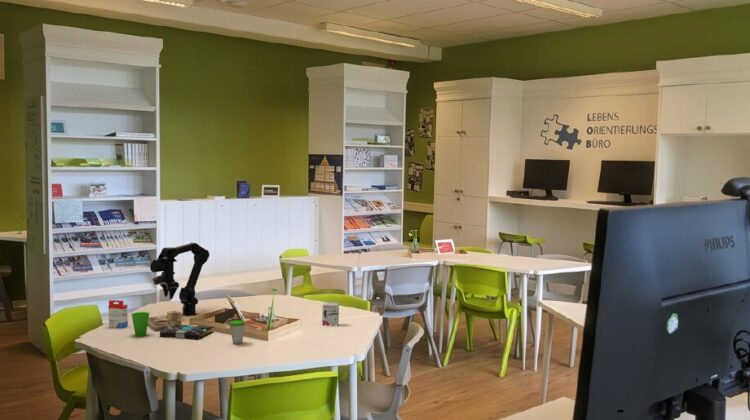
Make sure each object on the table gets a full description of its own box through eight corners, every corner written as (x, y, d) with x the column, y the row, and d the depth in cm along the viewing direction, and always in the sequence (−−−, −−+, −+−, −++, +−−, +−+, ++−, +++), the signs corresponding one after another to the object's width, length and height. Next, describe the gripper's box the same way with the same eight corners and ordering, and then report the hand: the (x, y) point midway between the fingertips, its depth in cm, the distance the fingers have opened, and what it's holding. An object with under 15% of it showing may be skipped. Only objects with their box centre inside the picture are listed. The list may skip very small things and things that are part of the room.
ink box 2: (322, 325, 360) (322, 304, 359) (323, 323, 365) (323, 302, 364) (337, 326, 359) (337, 304, 358) (338, 324, 364) (339, 302, 363)
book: (159, 338, 331) (159, 328, 331) (176, 330, 347) (176, 320, 347) (198, 341, 326) (198, 331, 326) (214, 333, 343) (214, 323, 342)
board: (156, 320, 367) (156, 316, 367) (170, 329, 347) (170, 325, 347) (141, 322, 363) (141, 318, 363) (155, 331, 342) (155, 327, 342)
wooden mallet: (178, 325, 357) (178, 310, 356) (181, 327, 353) (181, 312, 352) (152, 328, 349) (152, 313, 348) (155, 330, 345) (155, 315, 344)
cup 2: (227, 341, 323) (227, 311, 322) (243, 340, 326) (243, 310, 326) (231, 345, 316) (231, 314, 315) (247, 344, 319) (247, 313, 318)
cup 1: (154, 334, 336) (153, 312, 336) (140, 338, 328) (140, 316, 327) (140, 332, 340) (140, 311, 339) (127, 336, 332) (126, 314, 331)
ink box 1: (128, 326, 353) (127, 298, 352) (123, 328, 348) (123, 300, 347) (112, 325, 354) (112, 298, 353) (108, 327, 349) (108, 300, 348)
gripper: (148, 269, 372) (148, 296, 372) (158, 273, 356) (159, 302, 357) (168, 267, 378) (168, 294, 379) (179, 272, 363) (179, 300, 364)
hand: (168, 298), depth 369 cm, fingers open, 9 cm apart
